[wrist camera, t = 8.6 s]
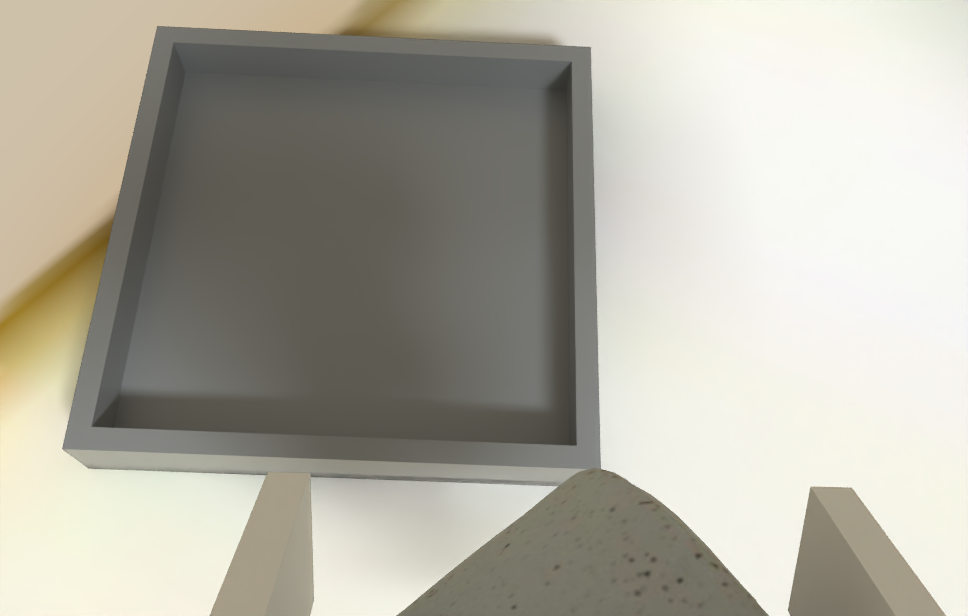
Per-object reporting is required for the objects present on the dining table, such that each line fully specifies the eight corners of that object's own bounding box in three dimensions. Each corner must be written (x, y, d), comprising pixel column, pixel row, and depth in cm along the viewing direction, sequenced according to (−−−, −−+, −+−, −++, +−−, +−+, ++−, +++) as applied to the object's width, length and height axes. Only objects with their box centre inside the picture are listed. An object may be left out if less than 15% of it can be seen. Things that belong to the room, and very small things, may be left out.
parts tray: (582, 85, 41) (590, 47, 39) (590, 487, 33) (600, 469, 31) (173, 65, 40) (157, 26, 38) (88, 468, 33) (61, 449, 31)
